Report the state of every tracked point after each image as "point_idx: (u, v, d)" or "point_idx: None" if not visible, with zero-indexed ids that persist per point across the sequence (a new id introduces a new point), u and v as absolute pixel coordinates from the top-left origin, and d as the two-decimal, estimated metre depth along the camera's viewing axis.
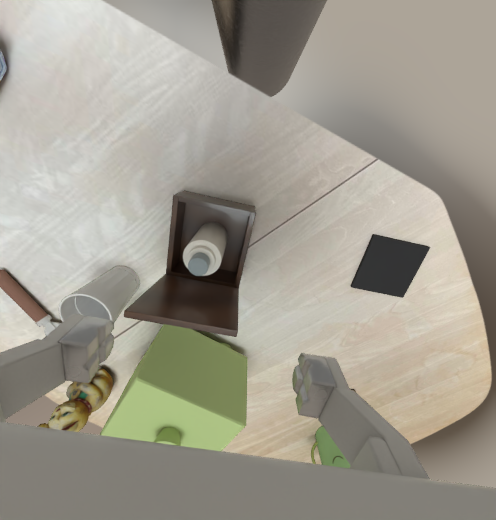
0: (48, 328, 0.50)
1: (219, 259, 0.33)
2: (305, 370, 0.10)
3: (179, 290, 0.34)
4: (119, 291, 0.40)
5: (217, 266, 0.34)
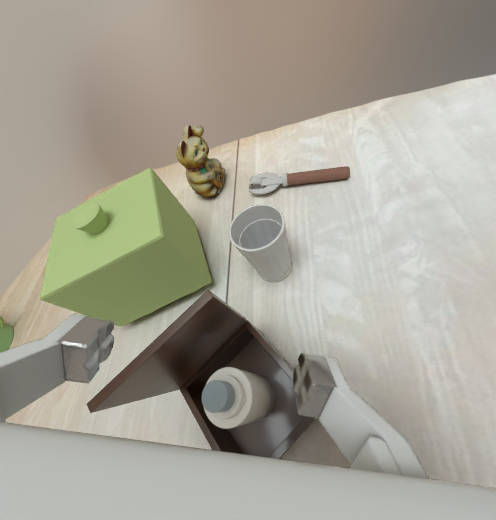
0: (276, 178, 0.51)
1: (211, 418, 0.23)
2: (305, 370, 0.10)
3: (212, 338, 0.27)
4: (261, 264, 0.35)
5: None
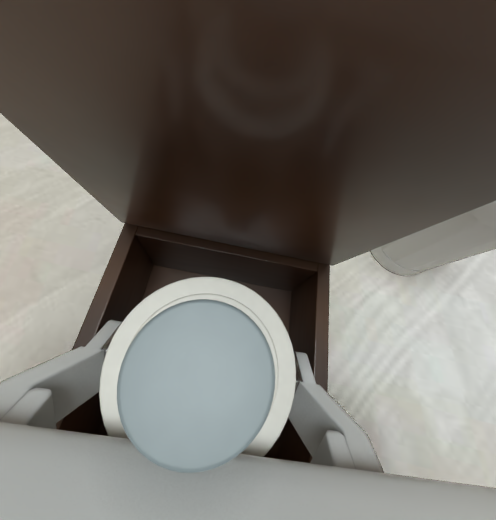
0: None
1: (110, 368, 0.06)
2: None
3: (305, 213, 0.08)
4: None
5: (129, 326, 0.07)
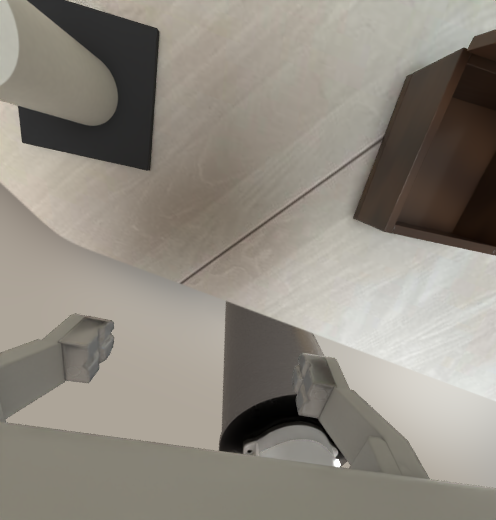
0: None
1: None
2: (305, 370, 0.10)
3: None
4: None
5: None
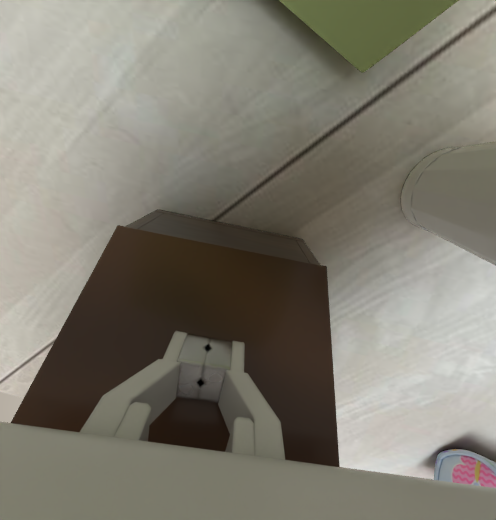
0: None
1: None
2: None
3: None
4: (473, 236, 0.13)
5: None
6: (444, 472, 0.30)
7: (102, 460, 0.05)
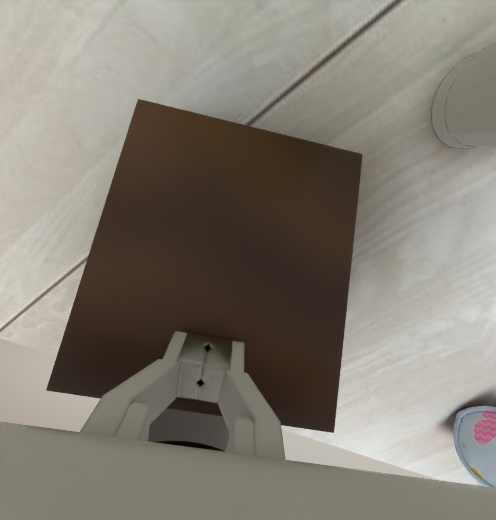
0: None
1: None
2: None
3: None
4: None
5: None
6: (465, 429, 0.29)
7: (102, 460, 0.05)
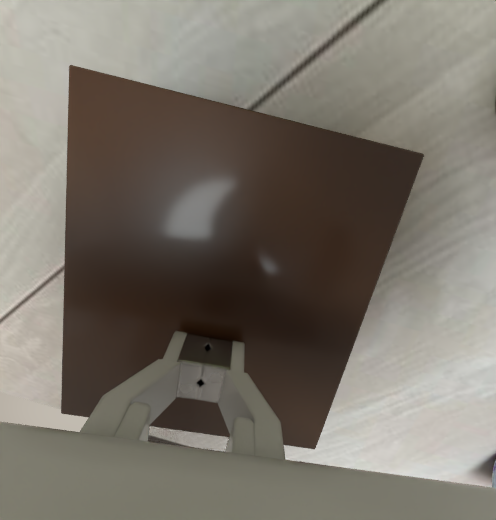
0: None
1: None
2: None
3: None
4: None
5: None
6: None
7: (102, 460, 0.05)
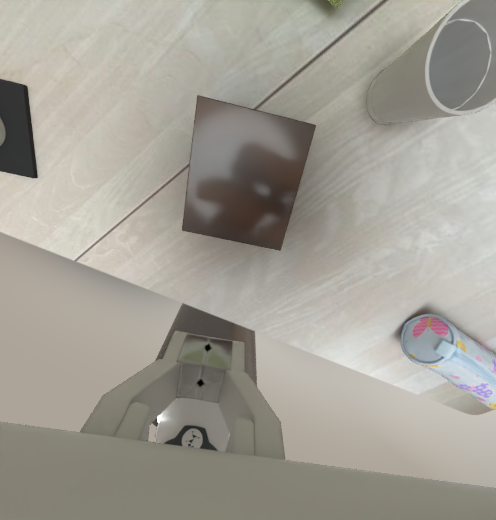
0: None
1: None
2: None
3: None
4: (397, 96, 0.24)
5: None
6: (407, 332, 0.41)
7: (102, 460, 0.05)
